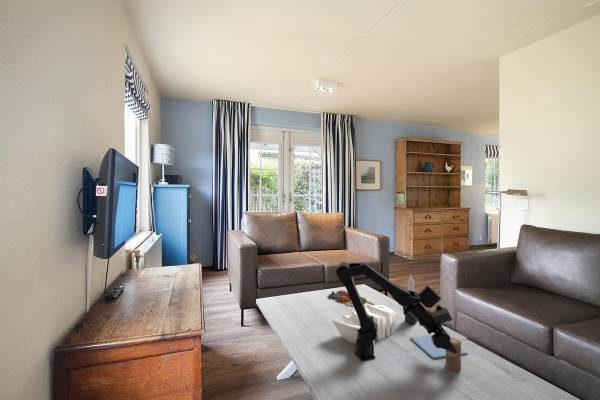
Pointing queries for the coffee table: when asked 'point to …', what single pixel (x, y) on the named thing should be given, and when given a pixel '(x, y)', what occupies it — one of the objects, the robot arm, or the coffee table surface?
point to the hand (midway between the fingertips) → (452, 346)
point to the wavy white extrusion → (381, 317)
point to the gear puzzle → (345, 298)
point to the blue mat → (431, 347)
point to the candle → (408, 316)
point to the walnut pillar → (454, 356)
